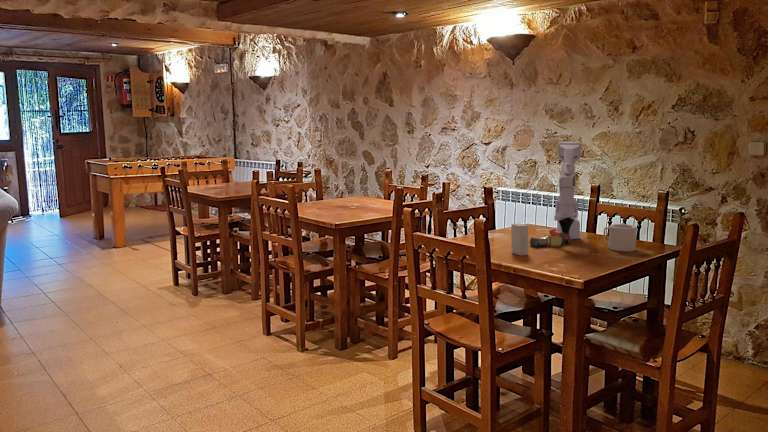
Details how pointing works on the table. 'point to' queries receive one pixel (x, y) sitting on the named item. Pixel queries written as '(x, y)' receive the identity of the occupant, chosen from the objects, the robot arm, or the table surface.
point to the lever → (559, 233)
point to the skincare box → (519, 239)
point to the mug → (621, 237)
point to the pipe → (545, 241)
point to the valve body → (553, 240)
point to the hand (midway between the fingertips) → (565, 235)
